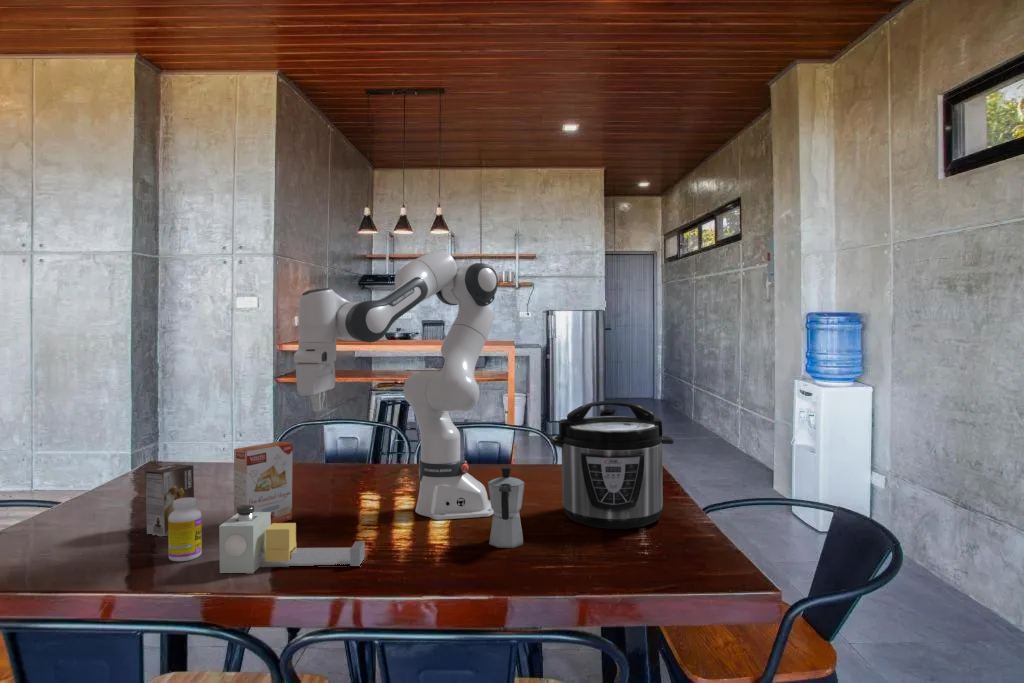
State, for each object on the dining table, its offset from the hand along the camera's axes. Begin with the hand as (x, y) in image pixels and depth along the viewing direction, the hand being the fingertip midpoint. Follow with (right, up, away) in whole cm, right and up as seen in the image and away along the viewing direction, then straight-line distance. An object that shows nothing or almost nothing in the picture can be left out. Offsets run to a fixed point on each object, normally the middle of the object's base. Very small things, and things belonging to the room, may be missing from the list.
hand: (317, 410), depth 153 cm
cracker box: (-17, -31, +10) cm, 37 cm away
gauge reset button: (-10, -26, -18) cm, 33 cm away
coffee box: (-39, -31, +6) cm, 50 cm away
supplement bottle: (-26, -32, -13) cm, 43 cm away
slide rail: (+3, -31, -17) cm, 36 cm away
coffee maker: (+46, -31, -4) cm, 56 cm away
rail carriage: (-2, -30, -18) cm, 35 cm away
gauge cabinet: (-10, -31, -18) cm, 37 cm away
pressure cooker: (+75, -31, +16) cm, 83 cm away
